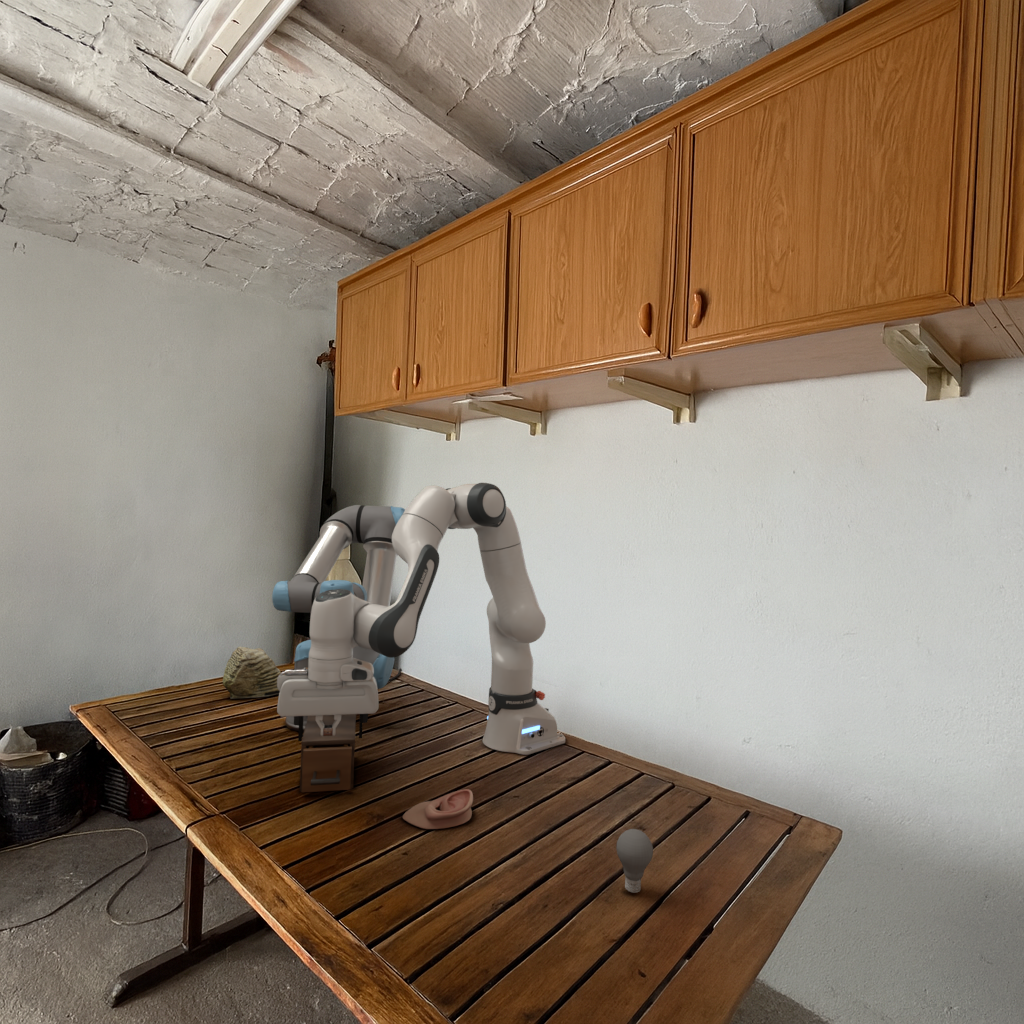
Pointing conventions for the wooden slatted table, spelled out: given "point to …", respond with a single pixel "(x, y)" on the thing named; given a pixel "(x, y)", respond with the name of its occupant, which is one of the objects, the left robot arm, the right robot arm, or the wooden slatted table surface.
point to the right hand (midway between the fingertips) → (328, 735)
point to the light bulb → (634, 857)
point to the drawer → (326, 768)
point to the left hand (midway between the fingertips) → (330, 737)
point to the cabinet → (342, 736)
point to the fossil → (250, 674)
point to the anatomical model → (442, 811)
